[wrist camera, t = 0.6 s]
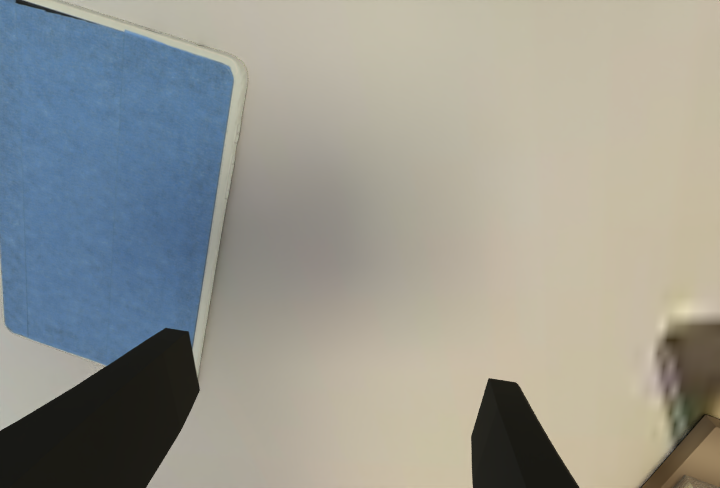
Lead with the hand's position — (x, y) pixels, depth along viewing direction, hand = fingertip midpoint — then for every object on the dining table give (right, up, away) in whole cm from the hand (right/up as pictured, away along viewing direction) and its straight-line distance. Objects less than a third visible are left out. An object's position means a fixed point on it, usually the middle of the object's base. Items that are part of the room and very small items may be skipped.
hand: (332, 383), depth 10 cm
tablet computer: (-12, +5, +13) cm, 18 cm away
